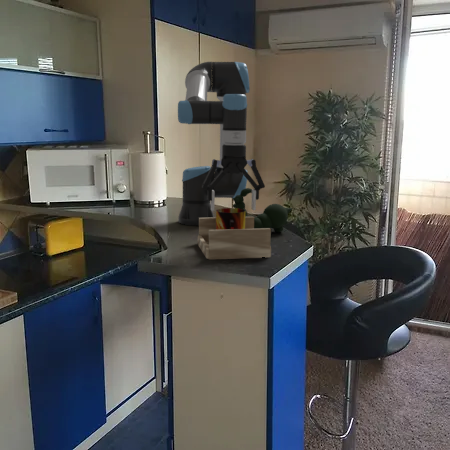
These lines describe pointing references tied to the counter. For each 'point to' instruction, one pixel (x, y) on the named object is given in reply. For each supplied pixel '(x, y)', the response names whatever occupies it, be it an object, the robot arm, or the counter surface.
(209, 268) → the counter surface
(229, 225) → the mug
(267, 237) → the open wooden box
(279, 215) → the toy figurine
